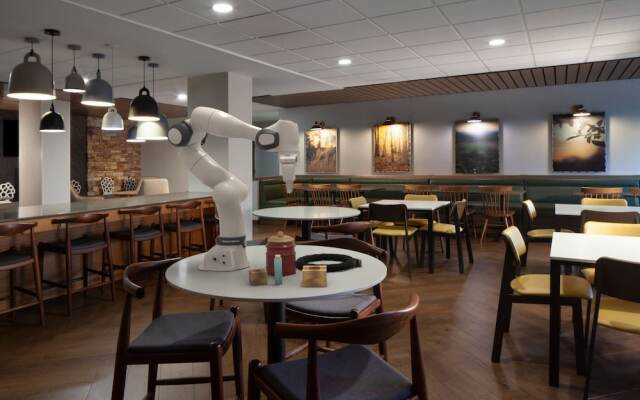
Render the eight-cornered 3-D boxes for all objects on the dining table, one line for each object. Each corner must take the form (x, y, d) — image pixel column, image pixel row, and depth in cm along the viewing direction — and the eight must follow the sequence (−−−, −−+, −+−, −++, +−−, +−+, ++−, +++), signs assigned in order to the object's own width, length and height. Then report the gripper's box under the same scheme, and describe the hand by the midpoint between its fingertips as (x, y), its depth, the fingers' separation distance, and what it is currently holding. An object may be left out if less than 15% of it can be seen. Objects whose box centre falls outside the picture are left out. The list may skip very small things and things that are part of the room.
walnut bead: (251, 286, 175) (251, 273, 174) (249, 282, 180) (248, 269, 180) (267, 284, 176) (267, 271, 176) (264, 280, 182) (263, 268, 182)
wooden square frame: (302, 286, 172) (302, 271, 172) (303, 280, 181) (303, 265, 181) (326, 286, 172) (326, 270, 172) (326, 280, 181) (326, 265, 181)
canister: (292, 276, 189) (291, 233, 187) (262, 275, 191) (260, 233, 189) (299, 269, 201) (298, 229, 200) (270, 268, 204) (269, 229, 202)
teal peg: (274, 284, 176) (273, 256, 175) (275, 283, 179) (274, 254, 178) (281, 284, 176) (281, 255, 175) (282, 282, 178) (281, 254, 178)
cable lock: (303, 251, 224) (364, 253, 218) (303, 259, 224) (364, 261, 218) (287, 264, 197) (357, 265, 191) (288, 272, 197) (357, 274, 191)
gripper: (283, 159, 200) (284, 191, 201) (279, 158, 180) (280, 193, 181) (297, 159, 200) (298, 190, 201) (295, 158, 180) (296, 193, 181)
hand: (289, 192), depth 191 cm, fingers open, 8 cm apart
